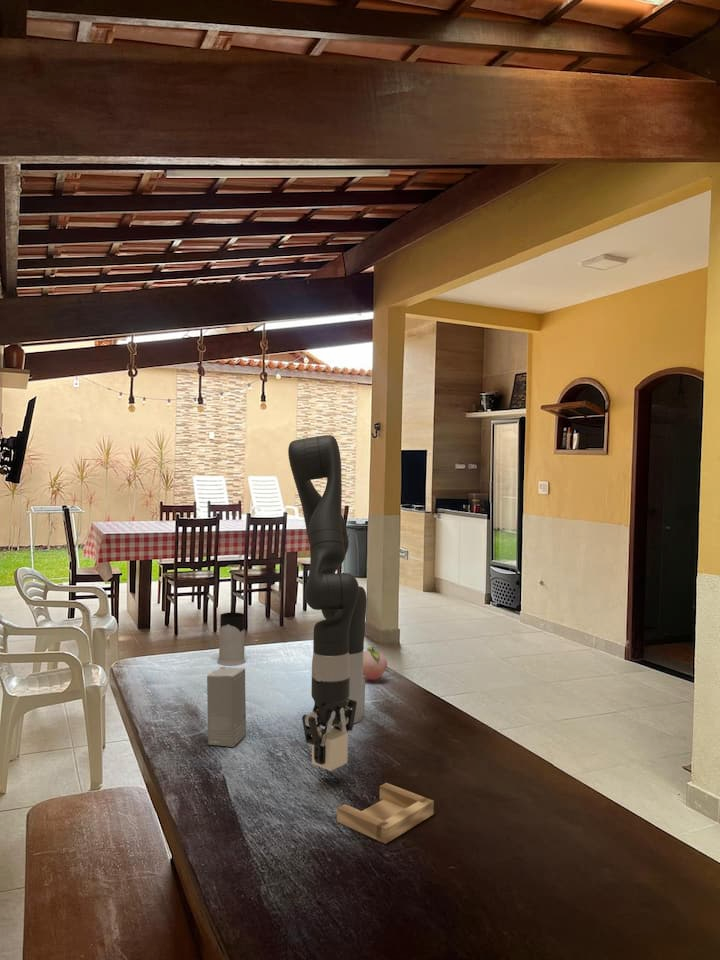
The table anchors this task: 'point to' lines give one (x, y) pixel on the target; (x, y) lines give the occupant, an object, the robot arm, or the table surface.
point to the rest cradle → (387, 814)
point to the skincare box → (226, 706)
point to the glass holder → (231, 639)
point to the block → (334, 750)
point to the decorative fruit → (373, 664)
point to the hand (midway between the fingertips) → (329, 758)
